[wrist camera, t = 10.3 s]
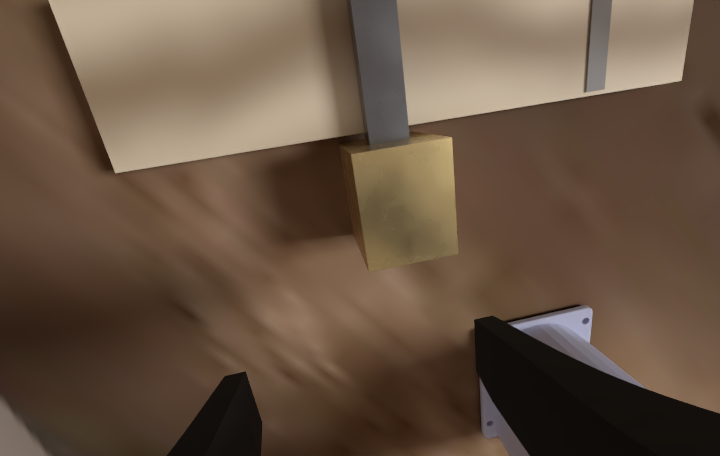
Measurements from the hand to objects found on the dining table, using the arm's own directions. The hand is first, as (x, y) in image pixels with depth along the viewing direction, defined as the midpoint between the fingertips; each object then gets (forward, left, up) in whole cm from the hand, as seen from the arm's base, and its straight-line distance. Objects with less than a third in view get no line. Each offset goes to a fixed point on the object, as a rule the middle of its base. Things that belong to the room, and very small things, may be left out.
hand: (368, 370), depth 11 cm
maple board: (+10, -5, -9) cm, 15 cm away
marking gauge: (+7, -3, -9) cm, 12 cm away
